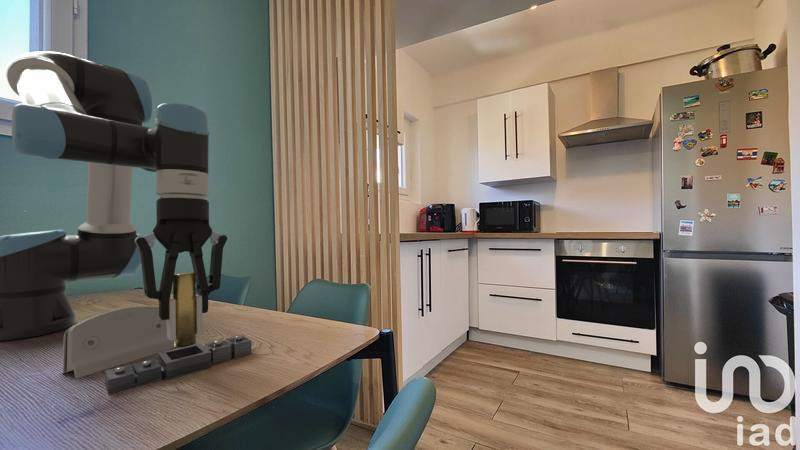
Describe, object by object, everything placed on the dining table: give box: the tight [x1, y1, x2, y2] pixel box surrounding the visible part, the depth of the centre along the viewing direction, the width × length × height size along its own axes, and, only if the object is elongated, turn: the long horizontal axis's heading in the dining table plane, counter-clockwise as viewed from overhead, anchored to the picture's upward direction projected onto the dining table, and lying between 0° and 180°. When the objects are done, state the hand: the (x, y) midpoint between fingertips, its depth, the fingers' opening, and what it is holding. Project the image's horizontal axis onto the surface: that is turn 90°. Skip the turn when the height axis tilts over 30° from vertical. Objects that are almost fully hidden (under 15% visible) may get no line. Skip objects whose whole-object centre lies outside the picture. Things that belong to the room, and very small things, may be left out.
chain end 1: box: [104, 353, 212, 395], centre depth 54 cm, size 6×13×3 cm, turn 136°
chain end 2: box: [157, 334, 252, 372], centre depth 59 cm, size 6×14×3 cm, turn 135°
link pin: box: [172, 272, 197, 349], centre depth 56 cm, size 3×3×12 cm
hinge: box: [62, 305, 176, 379], centre depth 62 cm, size 17×5×10 cm, turn 153°
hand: (184, 335), depth 56 cm, fingers closed on link pin, 3 cm apart
